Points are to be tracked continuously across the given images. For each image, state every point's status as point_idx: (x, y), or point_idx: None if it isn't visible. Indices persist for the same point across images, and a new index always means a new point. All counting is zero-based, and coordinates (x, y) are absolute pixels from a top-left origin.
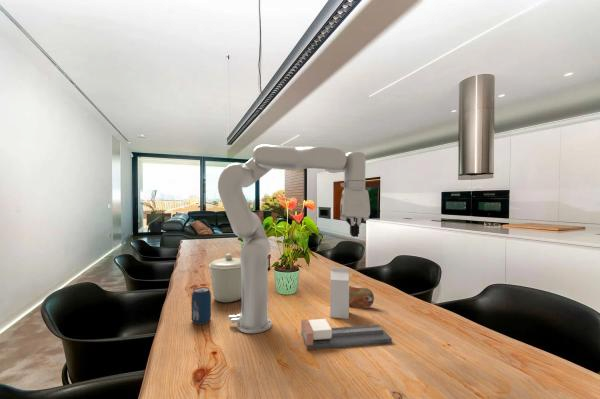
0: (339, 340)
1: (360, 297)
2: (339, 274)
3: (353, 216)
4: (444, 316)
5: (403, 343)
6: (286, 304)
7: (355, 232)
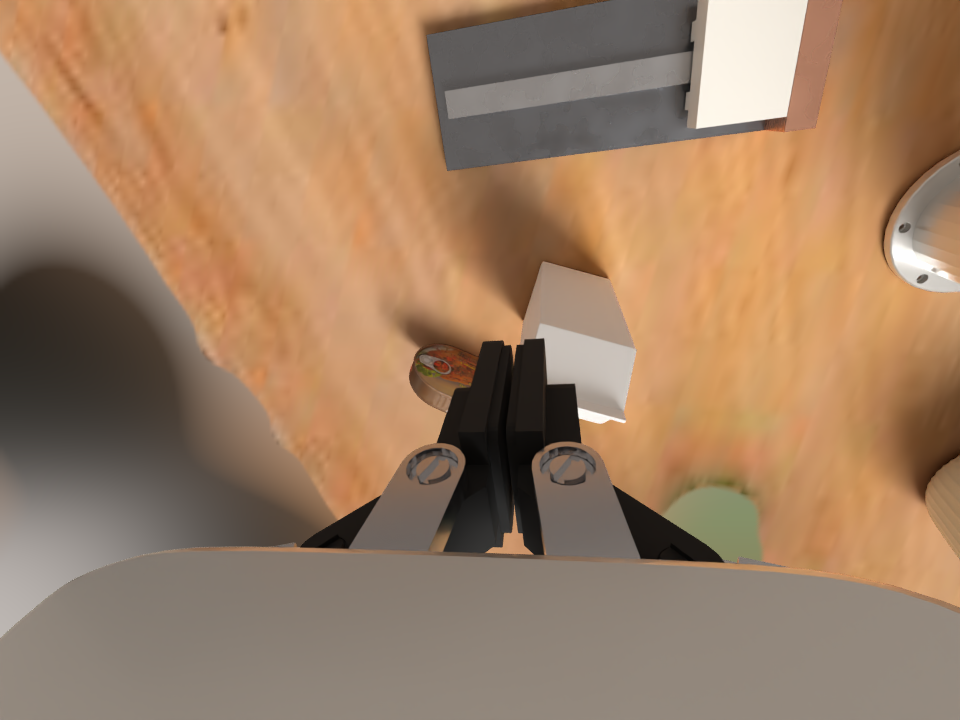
0: (653, 14)
1: (462, 377)
2: (581, 371)
3: (602, 560)
4: (193, 263)
5: (386, 35)
6: (752, 405)
7: (517, 370)
